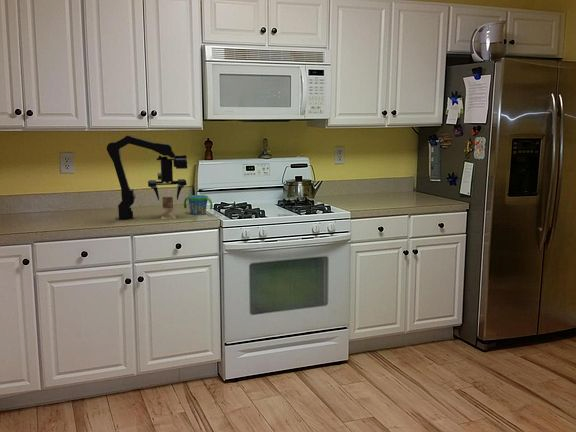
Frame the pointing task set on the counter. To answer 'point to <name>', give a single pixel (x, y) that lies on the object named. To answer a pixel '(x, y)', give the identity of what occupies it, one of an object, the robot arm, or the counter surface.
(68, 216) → the counter surface
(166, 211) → the birch block
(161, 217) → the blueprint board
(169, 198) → the walnut block
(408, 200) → the counter surface
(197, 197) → the snack cup
